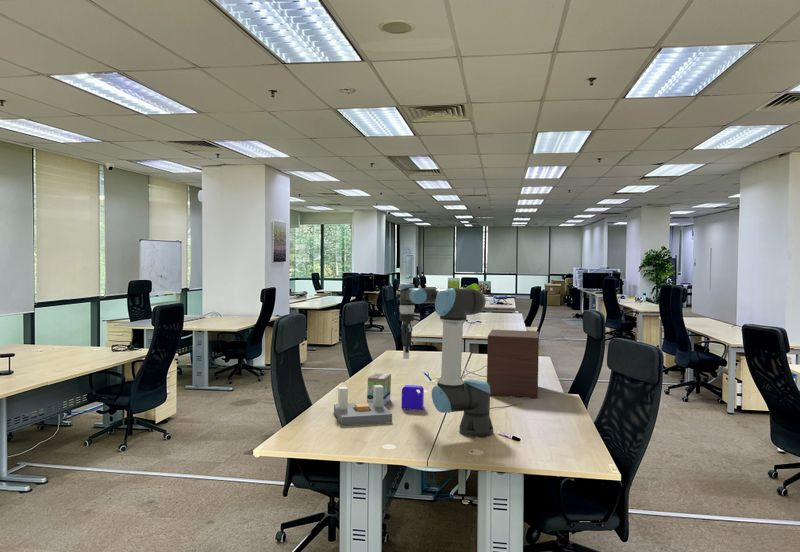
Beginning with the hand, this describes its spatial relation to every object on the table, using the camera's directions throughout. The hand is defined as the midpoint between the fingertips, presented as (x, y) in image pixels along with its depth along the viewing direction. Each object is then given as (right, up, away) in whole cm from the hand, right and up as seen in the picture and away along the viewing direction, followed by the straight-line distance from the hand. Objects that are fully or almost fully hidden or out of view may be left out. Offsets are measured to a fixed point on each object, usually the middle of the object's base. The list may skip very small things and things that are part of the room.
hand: (406, 358), depth 276 cm
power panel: (-22, -26, -16) cm, 38 cm away
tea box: (-15, -26, +14) cm, 33 cm away
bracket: (+5, -27, +9) cm, 29 cm away
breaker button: (-22, -25, -16) cm, 37 cm away
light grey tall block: (-14, -22, -10) cm, 28 cm away
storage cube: (+66, -27, +48) cm, 86 cm away
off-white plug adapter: (-31, -22, -15) cm, 41 cm away
